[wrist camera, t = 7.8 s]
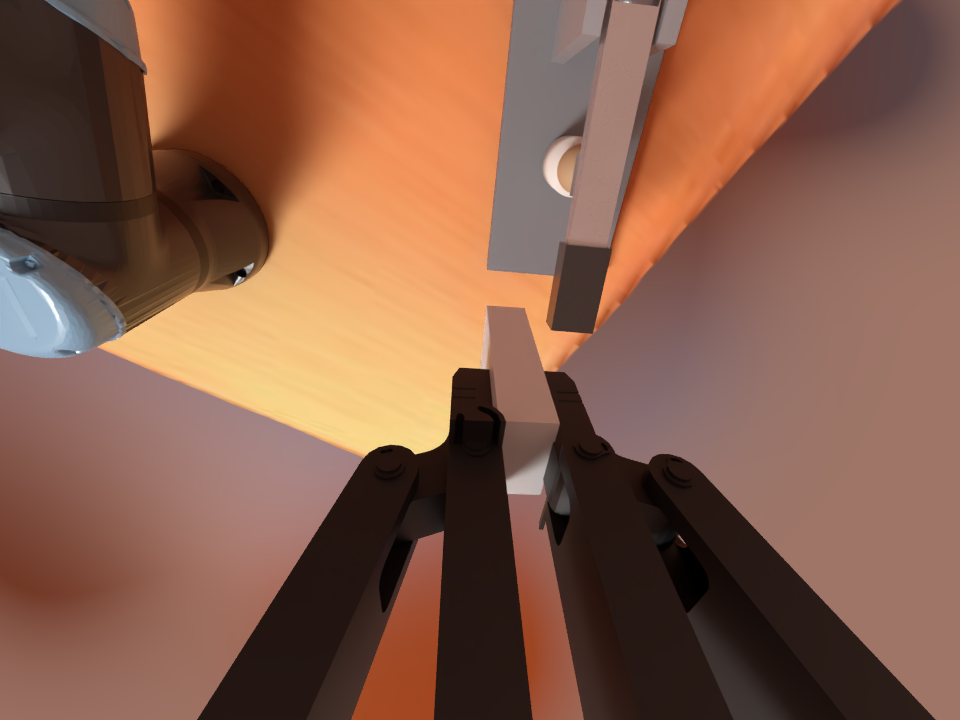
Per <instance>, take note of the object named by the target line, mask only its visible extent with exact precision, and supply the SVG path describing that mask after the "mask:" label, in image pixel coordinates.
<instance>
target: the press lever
mask: <svg viewBox="0 0 960 720" xmlns="http://www.w3.org/2000/svg"><path fill="white" fill-rule="evenodd" d="M660 3H661V0H608V2H607V4H606V8H605V13H604V18H603V24H602V30H601V36H600V41H599V47H598V53H597V58H596V64H595V70H594V76H593V81H592V87H591V93H590V99H589V104H588V110H587V116H586V121H585V127H584V133H583V139H582V144H581V150H580V153H577V155H576V161H575V167H574V173H573V178H572V184H571V190H570V196H572V202H571V207H570V213H569V219H568V224H567V230H566V236H565V242H560V243H559V249H558V255H557V261H556V267H555V273H554V278H553V284H552V290H551V296H550V302H549V308H548V314H547V320H546V322H547V324H548V326H549V327H550V329H551V330H554V331H566V332H578V333H590V334H593V330H594V326H595V322H596V317H597V313H598V308H599V304H600V299H601V295H602V291H603V286H604V282H605V277H606V273H607V269H608V264H609V260H610V255H611V251H612V249H610V248H608V247H607V243H608V239H609V234H610V230H611V225H612V221H613V216H614V212H615V207H616V203H617V198H618V193H619V189H620V184H621V180H622V175H623V171H624V166H625V162H626V157H627V153H628V148H629V144H630V139H631V135H632V130H633V126H634V121H635V116H636V112H637V107H638V103H639V98H640V94H641V89H642V85H643V80H644V76H645V71H646V67H647V62H648V58H649V53H650V48H651V44H652V39H653V35H654V30H655V26H656V21H657V17H658V12H659V8H660Z"/></svg>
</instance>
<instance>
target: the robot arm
mask: <svg viewBox="0 0 960 720" xmlns="http://www.w3.org/2000/svg"><path fill="white" fill-rule="evenodd" d="M143 74H144V75H147V68H146V65H145V64H144V62H143V61H142V59H141V53H140V47H139V41H138V34H137V28H136V22H135V17H134V12H133V10H132V7H131V5H130V3H129V1H128V0H0V348H1V349H4V350H8V351H11V352H15V353H18V354H23V355H28V356H34V357H43V358H64V357H70V356H75V355H78V354H82V353H84V352H87V351H89V350H91V349H93V348H95V347H97V346H99V345H101V344H103V343H105V342H107V341H113V340H116V339H117V338H120V337H121V336H123V335H124V334H125V333H127V332H128V331H130V330H132V329H133V328H135V327H137V326H138V325H140V324H142V323H143V322H145V321H147V320H148V319H150V318H152V317H153V316H155V315H156V314H158V313H160V312H161V311H163V310H165V309H166V308H168V307H170V306H171V305H173V304H175V303H176V302H178V301H180V300H181V299H183V298H185V297H186V296H188V295H189V294H191V293H194V292H204V291H214V290H223V289H228V288H232V287H235V286H237V285H240V284H241V283H243V282H245V281H246V280H248V279H249V278H251V277H252V276H254V275H255V274H256V273H257V272H258V271H259V270H260V269H261V267H262V266H263V264H264V262H265V260H266V257H267V253H268V247H269V238H268V231H267V226H266V223H265V220H264V217H263V214H262V212H261V210H260V208H259V206H258V204H257V203H256V201H255V199H254V198H253V196H252V195H251V194H250V192H249V191H248V190H247V188H246V187H245V186H244V185H243V184H242V183H241V182H240V181H239V180H238V179H237V178H236V177H235V176H234V175H233V174H232V173H230V172H229V171H228V170H227V169H225V168H224V167H223V166H221V165H220V164H218V163H216V162H215V161H213V160H211V159H209V158H207V157H205V156H203V155H200V154H197V153H194V152H191V151H186V150H180V149H164V150H152V144H151V136H150V127H149V119H148V110H147V102H146V93H145V85H144V76H143ZM543 483H544V485H545V490H546V495H547V497H546V501H545V505H544V508H543V511H542V515H541V518H540V522H539V529H543V528H544V525H545V522H546V525H547V530H548V535H549V540H550V546H551V551H552V556H553V561H554V567H555V571H556V577H557V582H558V587H559V592H560V598H561V602H562V608H563V613H564V618H565V623H566V629H567V633H568V639H569V644H570V649H571V654H572V660H573V664H574V670H575V675H576V680H577V685H578V691H579V695H580V701H581V706H582V711H583V716H584V720H935V719H934V718H933V717H932V715H931V714H930V713H929V712H928V711H927V710H926V709H925V708H924V707H923V706H922V705H921V704H920V703H919V702H918V701H917V700H916V699H915V698H914V696H912V694H911V693H910V692H909V691H908V690H907V689H906V688H905V687H904V686H903V685H902V684H901V683H900V682H899V681H898V680H897V678H896V677H895V676H894V675H893V674H892V673H891V672H890V671H889V670H888V669H887V668H886V667H885V666H884V665H883V664H882V663H881V662H880V661H879V660H878V658H877V657H876V656H875V655H874V654H873V653H872V652H871V651H870V650H869V649H868V648H867V647H866V646H865V645H864V644H863V642H862V641H860V639H859V638H858V637H857V636H856V635H855V634H854V633H853V632H852V631H851V630H850V629H849V628H848V627H847V626H846V625H845V623H844V622H842V620H841V619H840V618H839V617H838V616H837V615H836V614H835V613H834V612H833V611H832V610H831V609H830V608H829V607H828V605H826V604H825V603H824V601H823V600H822V599H821V598H820V597H819V596H818V595H817V594H816V593H815V592H814V591H813V590H812V589H811V588H810V587H809V585H808V584H807V583H806V582H805V581H804V580H803V579H802V578H801V577H800V576H799V575H798V574H797V573H796V572H795V571H794V570H793V568H791V566H790V565H789V564H788V563H787V562H786V561H785V560H784V559H783V558H782V557H781V556H780V555H779V554H778V553H777V552H776V551H775V550H774V548H773V547H772V546H771V545H770V544H769V543H768V542H767V541H766V540H765V539H764V538H763V537H762V536H761V535H760V534H759V533H758V532H757V530H756V529H754V527H753V526H752V525H751V524H750V523H749V522H748V521H747V520H746V519H745V518H744V517H743V516H742V515H741V513H739V512H738V510H737V509H736V508H735V507H734V506H733V505H732V504H731V503H730V502H729V501H728V500H727V499H726V498H725V497H724V496H723V495H722V493H721V492H720V491H719V490H718V489H717V488H716V487H715V486H714V485H713V484H712V483H711V482H710V481H709V480H708V479H707V478H706V476H705V475H704V474H703V473H702V472H701V471H700V470H699V469H697V468H696V467H695V466H694V465H692V464H691V463H690V462H688V461H686V460H684V459H682V458H681V457H677V456H674V455H670V454H659V455H656V456H654V457H652V459H651V460H650V462H649V464H644V463H641V462H637V461H634V460H630V459H627V458H624V457H621V456H618V455H617V454H615V451H614V450H613V448H612V447H611V445H610V444H609V443H608V442H607V441H606V440H604V439H603V438H602V437H600V436H598V435H596V434H595V432H594V429H593V426H592V424H591V421H590V419H589V417H588V414H587V412H586V409H585V407H584V405H583V403H582V400H581V397H580V395H579V394H578V390H577V387H576V385H575V383H574V381H573V380H572V379H571V378H570V377H569V376H568V375H567V374H566V373H564V372H548V371H544V370H543V367H542V364H541V360H540V357H539V354H538V351H537V347H536V344H535V341H534V338H533V334H532V331H531V328H530V325H529V321H528V318H527V315H526V312H525V308H514V307H499V306H487V308H486V317H485V327H484V337H483V346H482V356H481V369H473V368H459V369H458V370H457V372H456V373H455V374H454V376H453V380H452V397H451V415H450V430H449V435H448V437H447V439H446V440H445V442H444V443H443V444H442V445H440V446H439V447H437V448H435V449H434V450H431V451H428V452H424V453H420V454H416V455H415V454H414V453H413V452H412V451H411V450H410V449H408V448H405V447H403V446H399V445H387V446H382V447H378V448H377V449H375V450H373V451H371V452H369V453H368V454H367V455H366V456H365V458H364V459H363V460H362V461H361V463H360V464H359V466H358V468H357V469H356V470H355V472H354V474H353V475H352V477H351V478H350V480H349V482H348V483H347V485H346V486H345V488H344V489H343V491H342V493H341V494H340V496H339V497H338V499H337V500H336V502H335V504H334V505H333V507H332V508H331V510H330V512H329V513H328V515H327V516H326V518H325V519H324V521H323V522H322V524H321V526H320V527H319V529H318V531H317V532H316V533H315V535H314V537H313V538H312V540H311V542H310V543H309V544H308V546H307V548H306V549H305V551H304V552H303V554H302V556H301V557H300V559H299V560H298V562H297V564H296V565H295V567H294V568H293V570H292V571H291V573H290V575H289V576H288V578H287V579H286V581H285V582H284V584H283V586H282V587H281V589H280V590H279V592H278V593H277V595H276V597H275V598H274V600H273V601H272V603H271V604H270V606H269V607H268V609H267V611H266V612H265V614H264V615H263V617H262V619H261V620H260V622H259V623H258V625H257V626H256V628H255V630H254V631H253V633H252V634H251V636H250V637H249V639H248V641H247V642H246V644H245V645H244V647H243V648H242V650H241V652H240V653H239V655H238V656H237V658H236V659H235V661H234V663H233V664H232V666H231V667H230V669H229V670H228V672H227V674H226V675H225V677H224V678H223V680H222V682H221V683H220V685H219V687H218V688H217V690H216V691H215V693H214V694H213V696H212V697H211V699H210V700H209V702H208V704H207V705H206V707H205V708H204V710H203V711H202V713H201V715H200V716H199V718H198V719H197V720H351V718H352V715H353V713H354V710H355V707H356V705H357V702H358V699H359V696H360V694H361V691H362V689H363V686H364V683H365V680H366V678H367V675H368V673H369V670H370V667H371V665H372V662H373V659H374V656H375V654H376V651H377V648H378V646H379V643H380V640H381V638H382V635H383V632H384V630H385V627H386V624H387V622H388V619H389V616H390V613H391V611H392V608H393V605H394V603H395V600H396V598H397V595H398V592H399V589H400V587H401V584H402V581H403V579H404V576H405V574H406V571H407V568H408V565H409V563H410V560H411V557H412V554H413V552H414V549H415V547H416V544H417V541H418V539H419V538H422V537H426V536H429V535H432V534H435V533H438V532H442V531H444V543H443V561H442V579H441V598H440V616H439V636H438V654H437V672H436V691H435V692H436V693H435V709H434V720H533V719H532V711H531V701H530V692H529V684H528V675H527V665H526V656H525V647H524V639H523V630H522V620H521V612H520V603H519V593H518V584H517V575H516V567H515V558H514V549H513V540H512V531H511V522H510V513H509V504H508V495H507V494H536V495H538V494H539V495H540V494H541V490H542V487H543ZM678 535H680V536H681V538H682V539H683V540H684V542H685V543H686V544H687V545H686V544H684V543H683V542H682V541H681V540H680V538H679V537H678Z"/></svg>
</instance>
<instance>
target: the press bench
mask: <svg viewBox="0 0 960 720" xmlns="http://www.w3.org/2000/svg"><path fill="white" fill-rule="evenodd" d="M607 2H608V0H514V4H513V14H512V24H511V33H510V43H509V53H508V63H507V73H506V83H505V93H504V102H503V112H502V122H501V132H500V142H499V152H498V161H497V171H496V181H495V191H494V201H493V211H492V220H491V230H490V240H489V250H488V260H487V270H494V271H505V272H517V273H528V274H539V275H551V276H554V273H555V267H556V261H557V255H558V249H559V243H560V242H565V236H566V230H567V224H568V219H569V213H570V207H571V202H572V196H570V190H571V184H572V178H573V173H574V167H575V161H576V155H577V153H580V150H581V144H582V139H583V133H584V127H585V121H586V116H587V110H588V104H589V99H590V93H591V87H592V81H593V76H594V70H595V64H596V58H597V53H598V47H599V41H600V36H601V30H602V24H603V18H604V13H605V8H606V4H607ZM687 3H688V0H661V3H660V8H659V12H658V17H657V21H656V26H655V30H654V35H653V39H652V44H651V48H650V53H649V58H648V62H647V67H646V71H645V76H644V80H643V85H642V89H641V94H640V98H639V103H638V107H637V112H636V116H635V121H634V126H633V130H632V135H631V139H630V144H629V148H628V153H627V157H626V162H625V166H624V171H623V175H622V180H621V184H620V189H619V193H618V198H617V203H616V207H615V212H614V216H613V221H612V225H611V230H610V234H609V239H608V243H607V247H608V248H610V245H611V241H612V238H613V234H614V231H615V227H616V224H617V220H618V216H619V213H620V209H621V206H622V202H623V198H624V195H625V191H626V188H627V184H628V181H629V177H630V173H631V170H632V166H633V163H634V159H635V155H636V152H637V148H638V145H639V141H640V137H641V134H642V130H643V127H644V123H645V120H646V116H647V112H648V109H649V105H650V102H651V98H652V94H653V91H654V87H655V84H656V80H657V77H658V73H659V69H660V66H661V62H662V59H663V55H664V51H665V49H667V48H670V47H672V46H674V45H675V44H676V41H677V37H678V34H679V30H680V27H681V23H682V20H683V17H684V13H685V10H686V6H687Z"/></svg>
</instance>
